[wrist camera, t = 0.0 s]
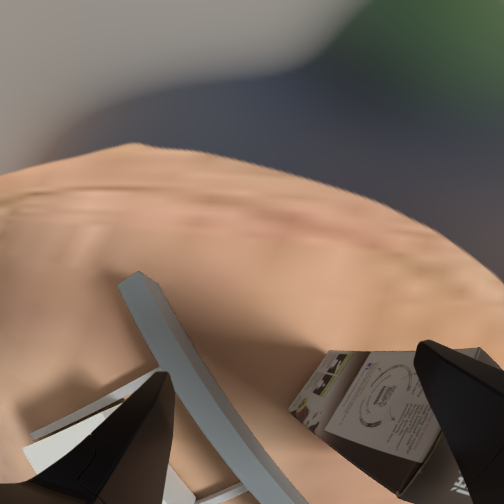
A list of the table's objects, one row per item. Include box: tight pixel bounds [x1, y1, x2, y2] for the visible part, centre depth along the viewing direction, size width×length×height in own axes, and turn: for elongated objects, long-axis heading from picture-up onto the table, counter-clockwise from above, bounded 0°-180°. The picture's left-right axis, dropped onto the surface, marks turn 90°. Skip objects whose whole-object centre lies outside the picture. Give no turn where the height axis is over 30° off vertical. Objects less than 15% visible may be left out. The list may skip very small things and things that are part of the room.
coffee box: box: [288, 347, 502, 504], centre depth 15 cm, size 9×6×16 cm
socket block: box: [22, 403, 196, 504], centre depth 18 cm, size 11×11×5 cm
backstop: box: [30, 271, 309, 504], centre depth 18 cm, size 26×21×5 cm
